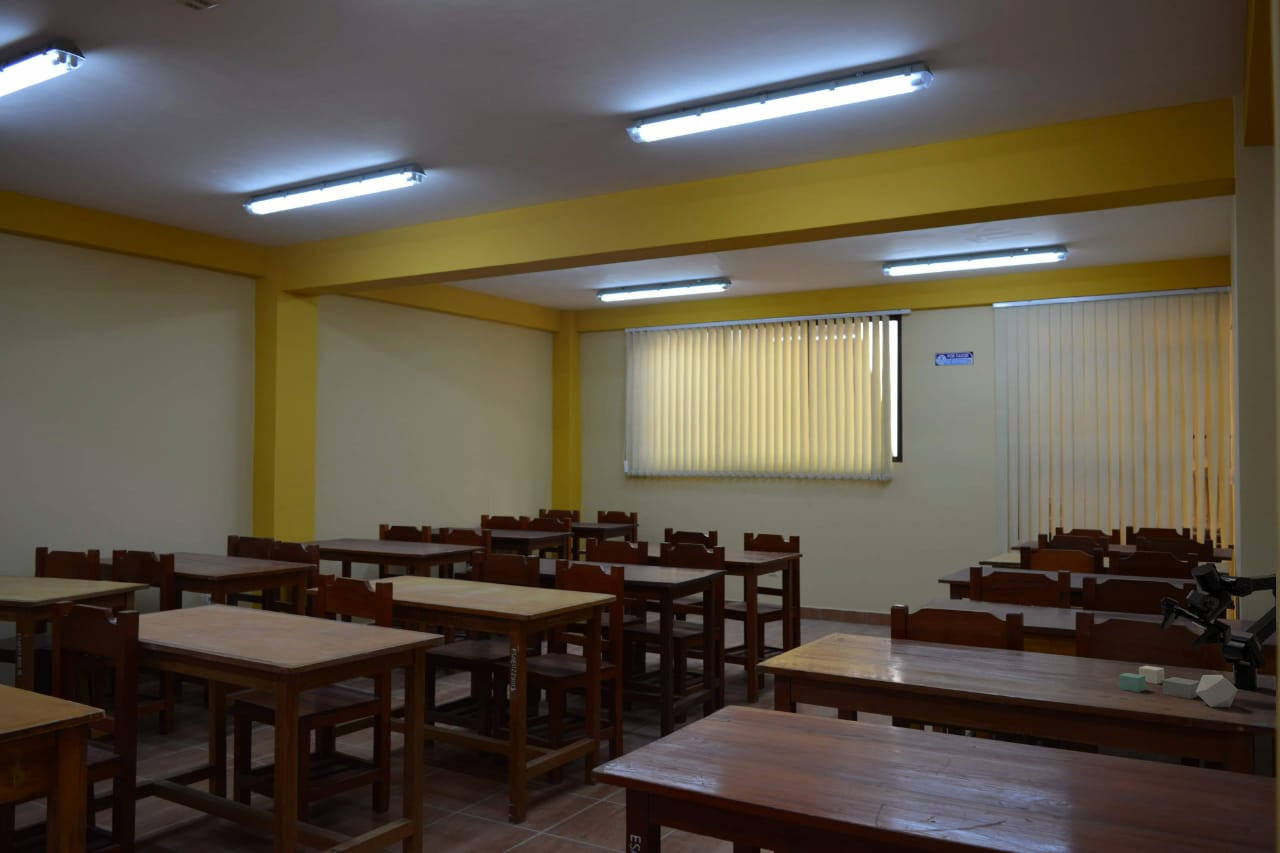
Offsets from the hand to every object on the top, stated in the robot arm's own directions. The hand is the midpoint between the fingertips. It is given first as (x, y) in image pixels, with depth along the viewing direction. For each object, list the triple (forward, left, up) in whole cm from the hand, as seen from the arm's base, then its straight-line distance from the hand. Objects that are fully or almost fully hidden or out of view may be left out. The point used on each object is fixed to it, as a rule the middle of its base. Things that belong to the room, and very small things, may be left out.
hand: (1176, 637), depth 256 cm
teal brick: (+4, -10, -16) cm, 19 cm away
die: (+6, +12, -16) cm, 21 cm away
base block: (0, +1, -16) cm, 16 cm away
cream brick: (-11, -11, -16) cm, 22 cm away
